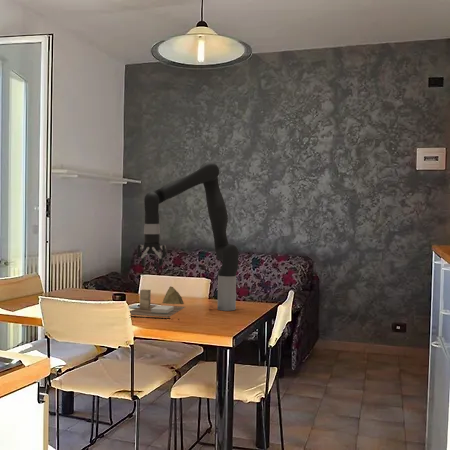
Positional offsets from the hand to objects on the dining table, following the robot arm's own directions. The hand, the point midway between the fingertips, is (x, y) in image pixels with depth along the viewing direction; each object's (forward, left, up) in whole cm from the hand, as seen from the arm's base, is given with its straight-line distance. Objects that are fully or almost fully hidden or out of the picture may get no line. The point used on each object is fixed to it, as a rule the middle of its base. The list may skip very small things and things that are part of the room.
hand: (152, 266), depth 262 cm
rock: (-18, +6, -23) cm, 30 cm away
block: (0, -3, -21) cm, 21 cm away
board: (+4, +4, -22) cm, 23 cm away
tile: (+1, +8, -20) cm, 21 cm away
